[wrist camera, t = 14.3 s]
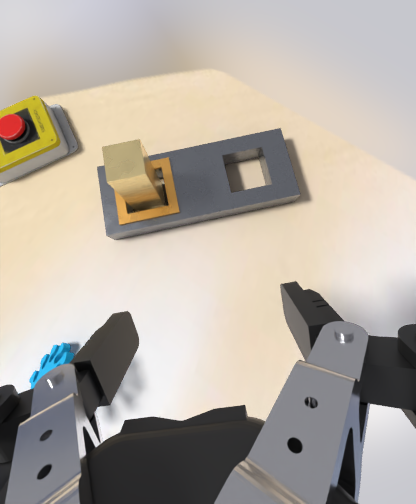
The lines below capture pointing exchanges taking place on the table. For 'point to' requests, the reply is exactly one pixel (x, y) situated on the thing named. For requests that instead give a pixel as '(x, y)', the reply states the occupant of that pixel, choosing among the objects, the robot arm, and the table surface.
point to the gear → (52, 361)
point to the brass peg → (133, 175)
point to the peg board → (204, 185)
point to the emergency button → (32, 137)
